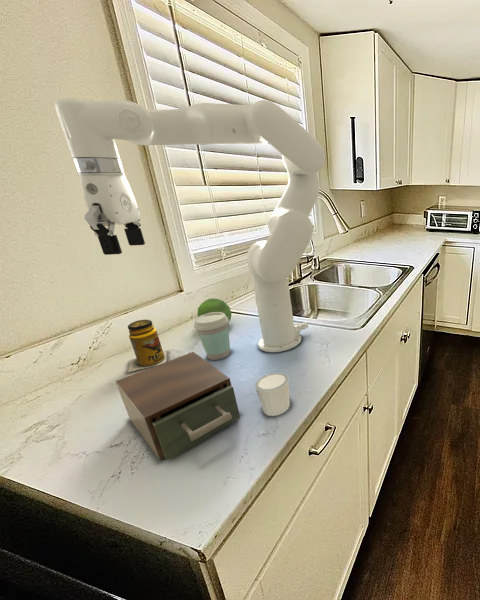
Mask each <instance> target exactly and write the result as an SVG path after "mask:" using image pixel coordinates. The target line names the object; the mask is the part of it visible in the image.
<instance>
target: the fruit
mask: <svg viewBox="0 0 480 600" xmlns="http://www.w3.org/2000/svg"><path fill="white" fill-rule="evenodd" d="M212 312H222V313H224V314H225V315H226V317H227V318H228V320H229V321H228V323H229V322H231V319H232V315H233V314H232V311H231V308H230V306H229V304H227V302H226V301H223V300H222V299H218V298H208V299H206V300H204V301H203V302H202V303H201V304H200V305H199V306H198V307H197V317H199V316H201V315H203V314H207V313H212Z"/></svg>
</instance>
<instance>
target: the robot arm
mask: <svg viewBox="0 0 480 600" xmlns="http://www.w3.org/2000/svg"><path fill="white" fill-rule="evenodd" d="M54 109H55V113H56V116H57V118H58V122H59V124H60V128H61V130H62V132H63V136H64V139H65V141H66V144H67V147H68V150H69V153H70V157H71V158H72V159H71V160H72V162H73V165H74V166H75V167H74V168H75V170H76V173H77V176H78V177H79V182H80V186H81V191H82V195H83V199H84V203H85V206H86V209H87V212H86V213H85V215H84V219H85V221H86V222H87V224H88V226H89V228H90V230H92V231H93V233H94V235H95V236H96V237H97V239H98V242H99V244H100V247H101V250H102V254H103V255H106V256H109V255H122V253H123V250H122V248H121V245H120V241H119V238H118V236H117V234H114V233H115V227H116V225H119V226H120V225H121V226H122V225H123V226H124V227H125V228H123V230H124V234H125V237H126V240H127V242H128V245H129V246H145V244H146V242H145V239H144V234H143V231H142V225H141V222H140V221H141V218H142V217H141V212H140V209H139V206H138V203H137V200H136V198H135V194H134V193H133V190H132V188H131V185H130V182H129V181H128V179H127V177H126V173H125V170H124V167H123V163H122V160H121V156H120V153H119V150H118V146H117V143H116V140H120V141H121V140H122V141H126V142H129V143H131V144H133V145H137V146H173V145H174V146H178V145H179V146H180V145H181V146H182V145H184V146H185V145H199V146H212V145H266V144H269V145H270V146H271V147H272V148H273V149H274V150H276V151H277V152H278V153H280V154H281V158H282V159H281V160H282V163H283V166H284V167H285V169H286V171H287V174H288V181H287V182H288V183H287V184H286V185H287V186H286V188H285V190H284V192H283V193H282V196H281V198H280V199H279V200H278V203H277V205H276V207H275V208H274V210H273V212H272V213H271V215H270V216H269V218H268V222H267V228H268V230H269V233H270V235H268V238H267V240H259V241H256V242H254V243H253V244H251V246H250V247H249V249H248V251H247V254H246V261H247V267H248V271H249V274H250V275H249V276H250V278H251V282H252V287H253V291H254V292H253V293H254V298H255V303H256V309H257V314H258V320H259V326H260V331H261V336H262V337H260V339H259V340H258V343H257V345H258V349H259V350H261V351H263V352H266V353H281V352H285V351H289V350H291V349H294V348H295V347H297V346H298V345H299V344H300V343H301V342H302V335H301V333H300V332H301V331H303V330H305V329H307V328H309V324H308V322H307V321H305V322H302V323H300V322H299V321H298V322H295V321H294V315H293V308H292V307H293V306H292V301H291V293H290V286H289V281H288V279H289V277H290V276H291V275H292V274H293V272H294V271H295V269H296V268H297V266H298V264H299V262H300V260H301V258H302V256H303V255H304V253H305V252H306V249H307V248H308V245H310V242H311V240H312V237H313V223H312V220H311V219H310V217H309V216H310V215H311V213H312V210H313V208H314V206H315V204H316V203H317V200H318V198H319V193H320V180H319V175H318V173H319V172H321V170H322V169H323V168H324V166H325V164H326V153H325V150H324V148H323V146H322V144H320V142H319V141H318V140H317V139H316V138H315V137H314V136H313V135H312V134H311V133H310V132H309V131H307V130H306V128H304V127H303V126H302V125H301V124H300V123H298V122H297V121H296V119H294V118H293V117H292V116H291V115H290V114H289V113H288V112H286V110H284V109H283V108H282V107H281V106H279V105H277V104H276V103H274V102H272V101H270V100H265V99H261V100H257V101H256V102H254V103H253V104H237V103H236V104H233V103H215V102H214V103H213V102H209V103H208V102H201V103H195V104H191V105H189V106H186V107H181V108H173V109H152V108H151V109H150V108H145V107H144V106H142V105H140V104H139V103H136V102H134V101H132V100H125V99H118V100H91V99H85V98H75V97H61V98H58V99H56V100H55V101H54Z"/></svg>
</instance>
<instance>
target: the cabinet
mask: <svg viewBox="0 0 480 600" xmlns="http://www.w3.org/2000/svg"><path fill="white" fill-rule="evenodd" d="M114 382H115V384H116V387H117V390H118V392H119V395H120V398H121V400H122V402H123V405H124V408H125V411H126V413H127V415H128V419H129V420H130V421H131V423H132V424H133V426H134V427H135V428H136V429H137V431H138V432H139V433H140V435H141V436H142V438H143V439H144V441H145V442H146V443H147V444H148V446H149V447H150V449H151V450H152V452H153V453H154V455H155V456H156V457H157V458H158V459H159V461H163V459H166V458H165V457H164V454H163V451H162V449H161V446H160V443H159V440H158V437H157V435H156V432H155V429H154V426H153V424H152V423H153V421H152V419H153V418H155V417H157V416H160V415H162V414H164V413H166V412H168V411H170V410H172V409H174V408H176V407H178V406H180V405H183V404H185V403H187V402H189V401H191V400H193V399H195V398H197V397H199V396H201V395H203V394H205V393H208V392H210V391H212V390H214V389H216V388H218V387H220V386H222V385H223V387H224V388H225V387H227V386H230V385H231V386H232V381H231V378H230V377H229V376H228V375H226V374H225V373H224V372H222V371H221V370H219V369H218V368H217V367H215V366H214V365H213V364H211V363H210V362H208V361H207V360H205V359H204V358H203V357H201V356H200V355H198V354H197V353H196V352H195V351H191V352H189V353H186V354H184V355H181V356H178V357H175V358H172V359H171V360H166V362H165V363H162V364H159V365H157V366H153V367H149V368H145V369H143V370H141V371H139V372H136V373H133V374H130V375H127V376H125V377H123V378H120V379H117V380H115V381H114ZM232 387H233V386H232Z"/></svg>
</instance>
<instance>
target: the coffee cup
mask: <svg viewBox="0 0 480 600" xmlns="http://www.w3.org/2000/svg"><path fill="white" fill-rule="evenodd" d="M228 321H229V320H228V318H227V317H226V315H225V314H224V313H222V312H212V313H207V314H203V315H201V316H199V317H198V316H197V317H196V318H195V319H194V323H193V328H194V329H195V330H196V333H197V335H198V338H199V339H200V342H201V344H202V347H203V349H204V352H205V354H206V356H207V358H208V359H209V360H211V361H217V360H222V359H224V358H226V357H228V356H229V355H230V354H231V345H230V343H231V342H230V332H229V322H230V321H229V322H228Z"/></svg>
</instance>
